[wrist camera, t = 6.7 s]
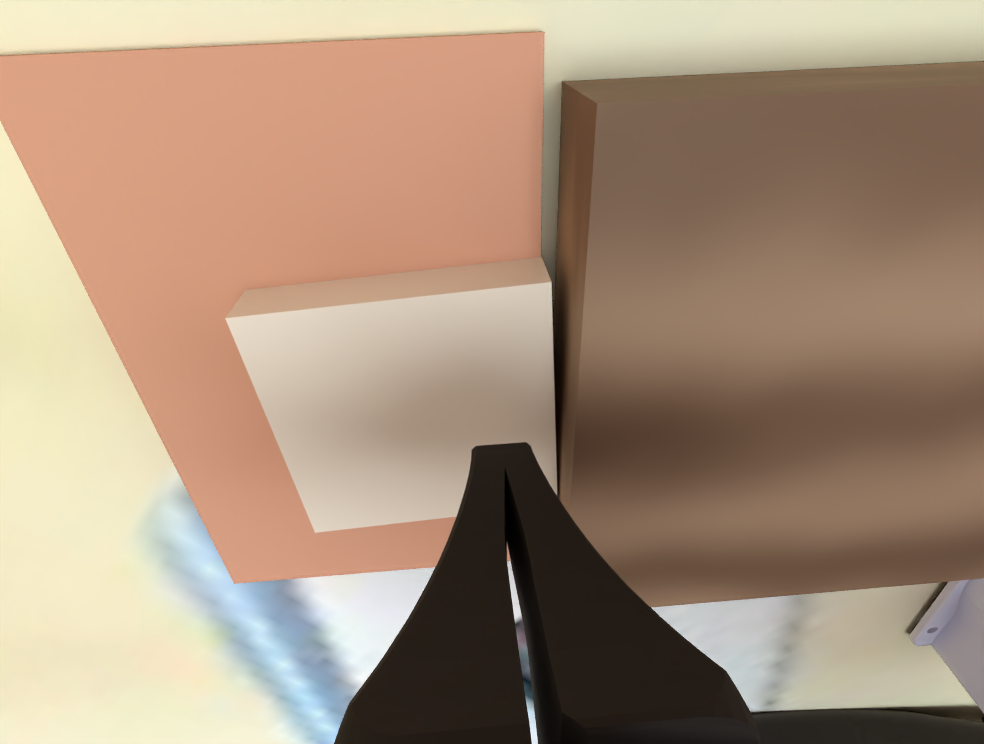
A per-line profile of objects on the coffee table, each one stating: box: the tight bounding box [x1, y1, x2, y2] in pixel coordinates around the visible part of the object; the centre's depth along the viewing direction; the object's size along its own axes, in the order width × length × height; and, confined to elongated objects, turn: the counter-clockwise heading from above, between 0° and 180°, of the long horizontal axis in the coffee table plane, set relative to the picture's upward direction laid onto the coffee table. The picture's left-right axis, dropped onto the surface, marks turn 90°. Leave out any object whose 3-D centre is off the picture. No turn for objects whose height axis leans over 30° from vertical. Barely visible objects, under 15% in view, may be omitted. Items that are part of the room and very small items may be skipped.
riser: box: [553, 61, 984, 607], centre depth 16 cm, size 16×18×4 cm
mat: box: [0, 32, 544, 584], centre depth 17 cm, size 18×12×1 cm, turn 2°
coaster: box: [225, 257, 557, 533], centre depth 16 cm, size 8×8×2 cm
